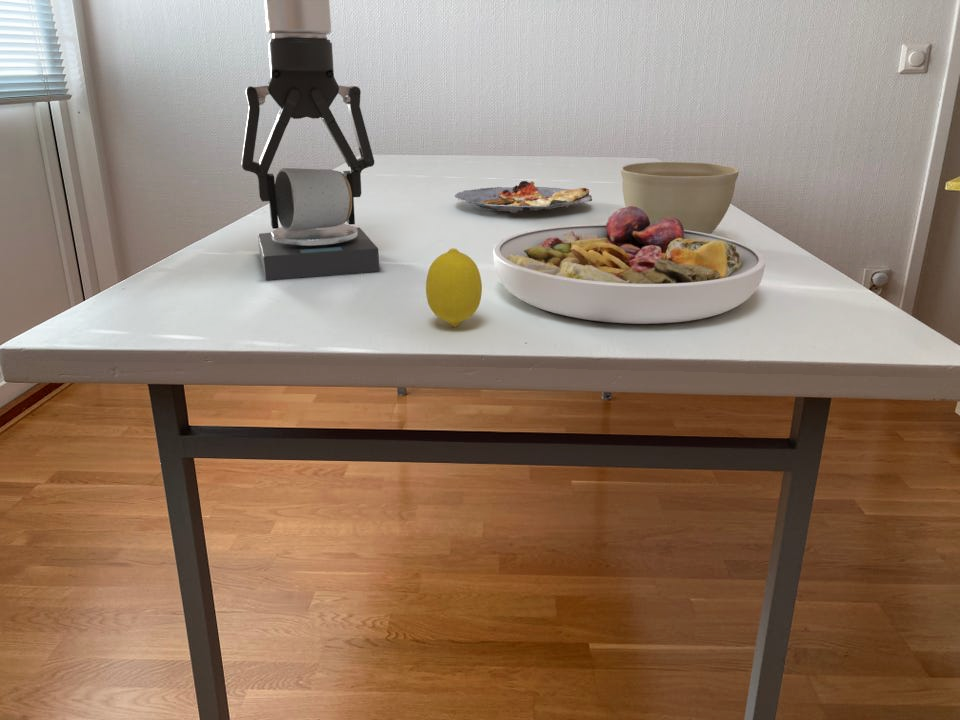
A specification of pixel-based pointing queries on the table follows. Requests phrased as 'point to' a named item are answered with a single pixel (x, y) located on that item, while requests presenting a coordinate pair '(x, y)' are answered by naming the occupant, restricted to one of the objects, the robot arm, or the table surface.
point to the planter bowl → (681, 192)
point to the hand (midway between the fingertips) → (313, 224)
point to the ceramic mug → (312, 198)
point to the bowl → (628, 270)
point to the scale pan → (315, 235)
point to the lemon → (453, 287)
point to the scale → (317, 258)
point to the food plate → (524, 197)
